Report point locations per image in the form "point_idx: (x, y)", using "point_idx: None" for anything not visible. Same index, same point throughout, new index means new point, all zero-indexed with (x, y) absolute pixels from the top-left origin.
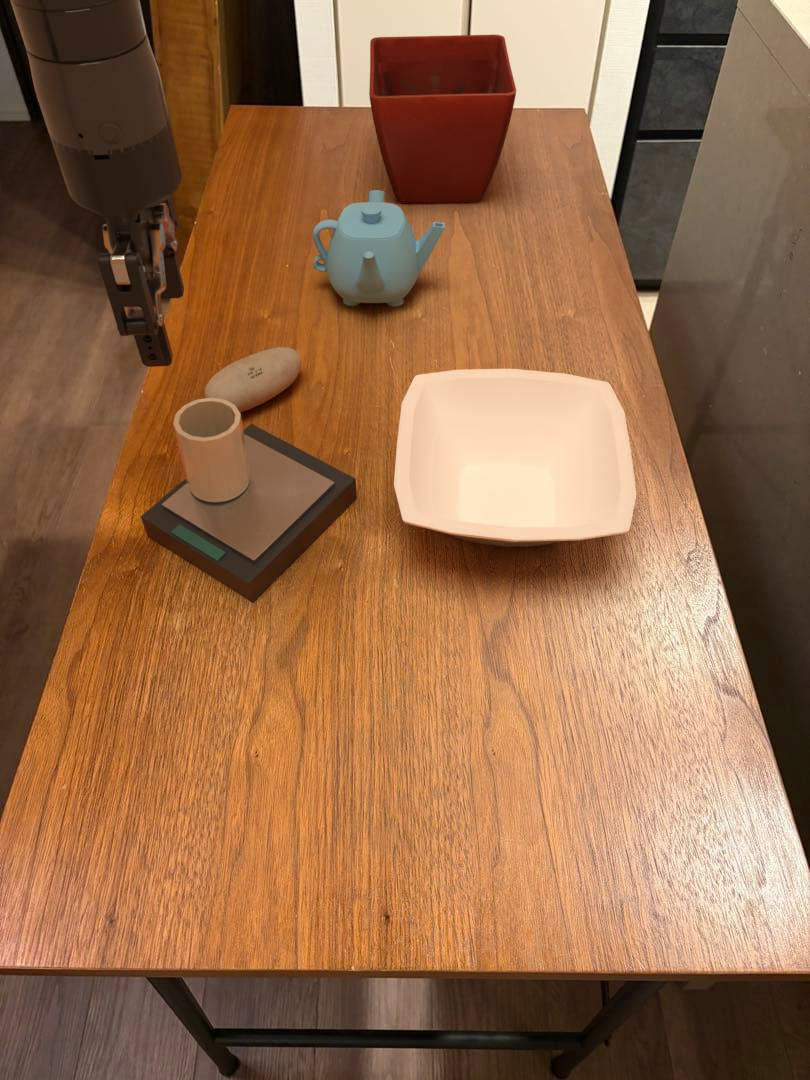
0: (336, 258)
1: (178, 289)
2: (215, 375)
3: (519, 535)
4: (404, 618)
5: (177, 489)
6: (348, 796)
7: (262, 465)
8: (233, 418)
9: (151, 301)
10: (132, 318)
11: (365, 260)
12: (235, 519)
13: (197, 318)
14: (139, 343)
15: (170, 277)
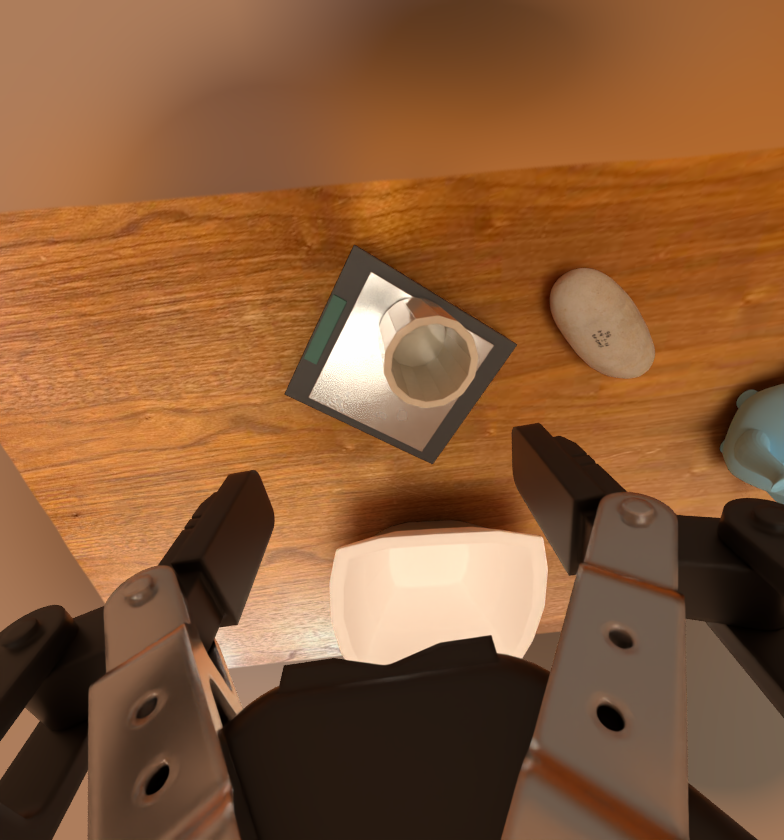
0: None
1: (521, 489)
2: (605, 283)
3: (335, 622)
4: (303, 499)
5: (403, 281)
6: (143, 484)
7: None
8: (449, 386)
9: (64, 807)
10: (29, 703)
11: (775, 475)
12: (359, 366)
13: (780, 189)
14: (170, 548)
15: (538, 501)
